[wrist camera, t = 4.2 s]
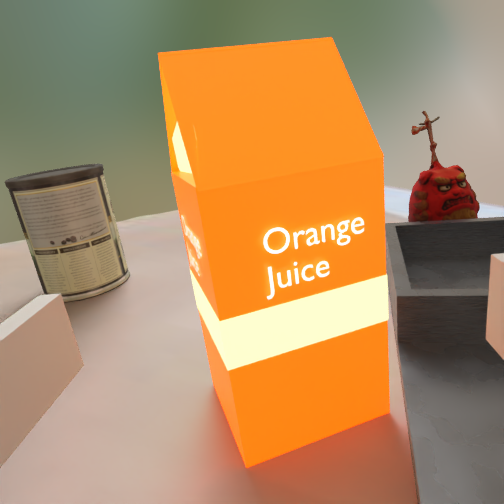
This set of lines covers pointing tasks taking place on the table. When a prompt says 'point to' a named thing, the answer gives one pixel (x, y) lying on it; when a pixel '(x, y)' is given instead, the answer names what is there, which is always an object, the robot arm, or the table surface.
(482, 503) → the tray
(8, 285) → the table surface
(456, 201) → the red clay folk toy
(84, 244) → the coffee can
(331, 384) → the orange juice
